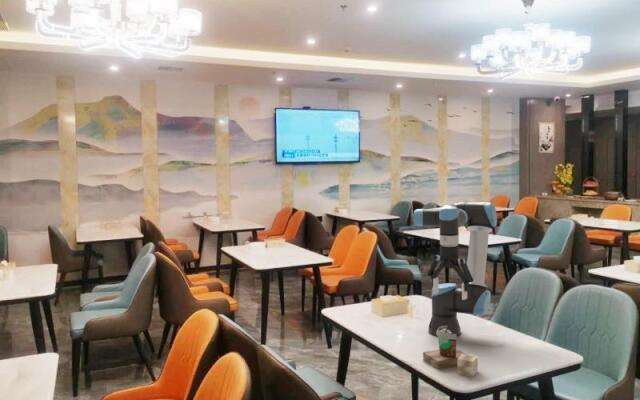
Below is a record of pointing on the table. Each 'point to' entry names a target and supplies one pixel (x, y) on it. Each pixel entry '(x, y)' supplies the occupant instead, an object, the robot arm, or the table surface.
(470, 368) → the cream cube
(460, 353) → the base block
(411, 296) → the table surface
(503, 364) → the table surface
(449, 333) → the food container
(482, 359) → the table surface
